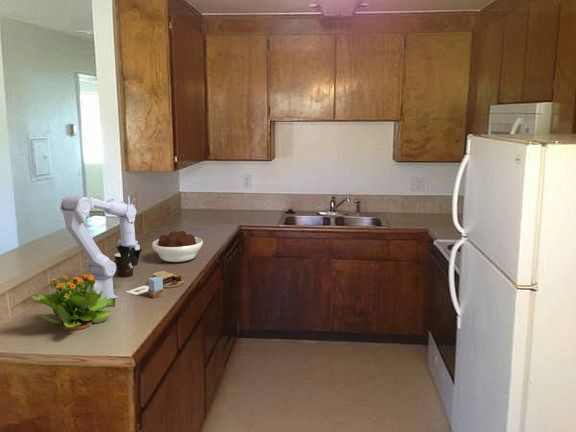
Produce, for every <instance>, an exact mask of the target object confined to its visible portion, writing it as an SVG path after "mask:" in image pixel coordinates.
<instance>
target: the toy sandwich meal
mask: <svg viewBox="0 0 576 432" xmlns="http://www.w3.org/2000/svg"><path fill="white" fill-rule="evenodd" d="M153 277H160V278H162V279H163V289H173V288H177V287H180V286H181V285H182V284H183V283H184V282H185V281H184V280H183V274H180V275H176V274H174V273H172V272H167V271H166V270H162V271H161V270H160V271H157V272H154V273H152V277H151V278H153ZM179 285H180V286H179ZM176 286H177V287H176ZM172 287H173V288H172Z"/></svg>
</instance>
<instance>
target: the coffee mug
mask: <svg viewBox="0 0 576 432" xmlns="http://www.w3.org/2000/svg"><path fill="white" fill-rule="evenodd" d="M113 262H114V263H115V264H116V272H117V277H119V278H123V279H124V278H125V279H126V278H130V277H133V276H134V266H132V264H131V258H130V255H129V257H128V262H125V263H123V261H122V258H121V255H120V253H119V252H117V253H114V261H113Z"/></svg>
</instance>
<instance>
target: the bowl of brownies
mask: <svg viewBox="0 0 576 432" xmlns="http://www.w3.org/2000/svg"><path fill="white" fill-rule="evenodd" d="M203 244H204V241H203V239H202V238H200V237H197V236H195V235H193V234H191V233H190V234H189V233H187V232H186V231H185V230H179V231H175V230H174V231H171V232H169V234H162V235H160V236H159V238H158V239H156V240H154V241H152V243H151V247H152V249H153V250H154V251H155V252H156V253H157V254H158V256H159V259H161V261H162V260H163V261H164V262H170V263H171V262H172V263H181V262H187V261H190V260H193V259H195V258H196V257H197V255H198V252H199V250H201V248H202V247H203Z"/></svg>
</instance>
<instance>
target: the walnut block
mask: <svg viewBox="0 0 576 432" xmlns="http://www.w3.org/2000/svg"><path fill="white" fill-rule="evenodd" d="M147 295H148V296H149V297H151V298H152V299H157V298H162V297H165V296H166V288H163V289H162V290H158V291H152V290H149V289H148V291H147Z"/></svg>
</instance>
